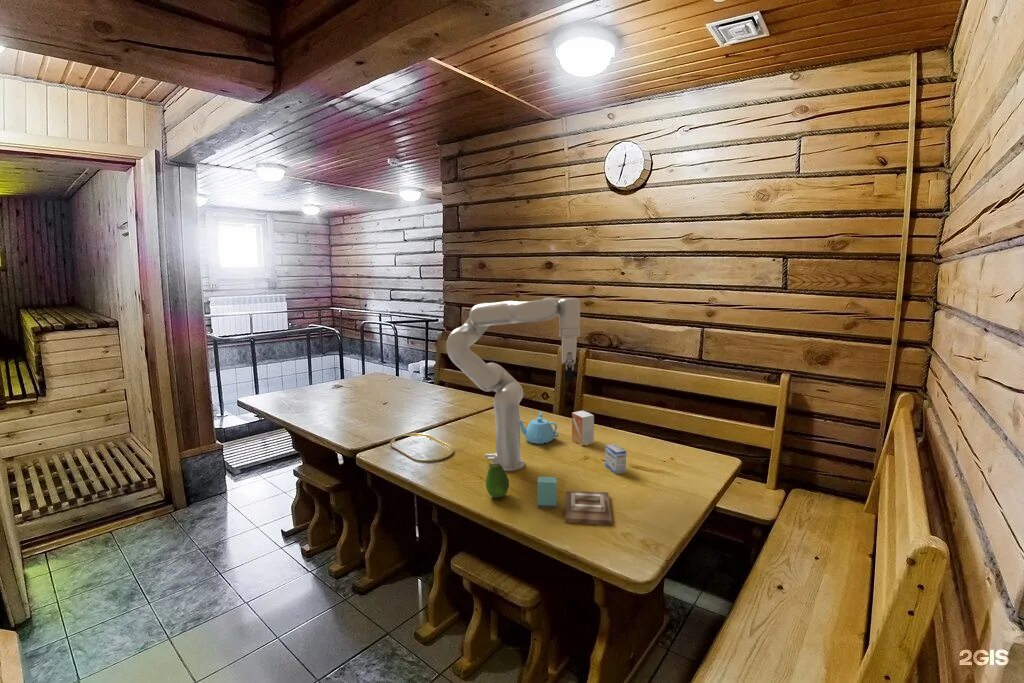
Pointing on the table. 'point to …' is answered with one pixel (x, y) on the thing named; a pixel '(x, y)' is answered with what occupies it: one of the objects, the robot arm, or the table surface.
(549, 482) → the plug
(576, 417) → the small box
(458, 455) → the table surface
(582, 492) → the socket block
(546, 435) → the teapot
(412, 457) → the serving platter
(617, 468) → the medicine box
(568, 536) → the table surface
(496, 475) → the avocado
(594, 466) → the table surface
